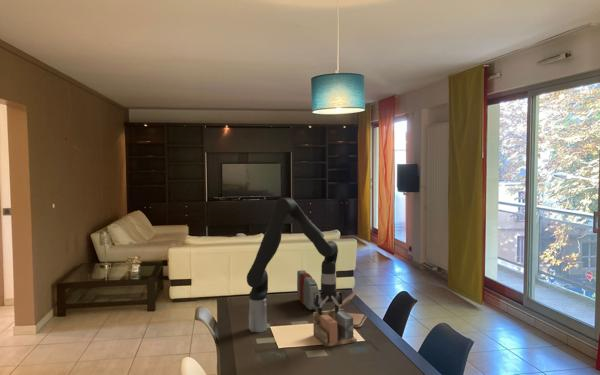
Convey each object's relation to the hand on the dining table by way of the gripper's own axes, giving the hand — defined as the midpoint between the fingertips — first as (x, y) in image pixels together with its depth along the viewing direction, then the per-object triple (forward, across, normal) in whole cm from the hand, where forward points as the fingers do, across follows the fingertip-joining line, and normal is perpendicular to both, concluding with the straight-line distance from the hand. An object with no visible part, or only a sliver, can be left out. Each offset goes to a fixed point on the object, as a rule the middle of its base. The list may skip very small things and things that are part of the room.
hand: (328, 313), depth 225 cm
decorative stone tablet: (+15, +10, +57) cm, 60 cm away
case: (+15, +21, +24) cm, 35 cm away
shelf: (+14, +5, +2) cm, 15 cm away
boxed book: (+13, 0, 0) cm, 13 cm away
